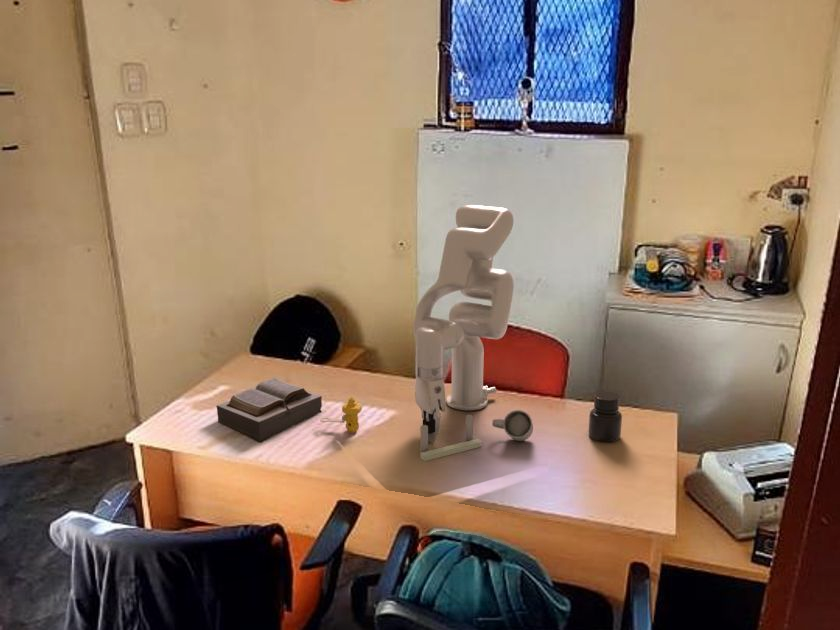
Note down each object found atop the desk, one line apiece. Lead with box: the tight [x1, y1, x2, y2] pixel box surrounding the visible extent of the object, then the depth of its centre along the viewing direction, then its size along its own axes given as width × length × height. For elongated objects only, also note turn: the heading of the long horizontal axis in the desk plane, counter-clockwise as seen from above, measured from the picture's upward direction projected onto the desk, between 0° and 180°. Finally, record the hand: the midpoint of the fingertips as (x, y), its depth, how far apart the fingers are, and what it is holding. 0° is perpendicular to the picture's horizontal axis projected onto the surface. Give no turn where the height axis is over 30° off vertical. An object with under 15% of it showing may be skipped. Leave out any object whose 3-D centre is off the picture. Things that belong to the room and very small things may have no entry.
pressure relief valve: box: [319, 397, 363, 434], centre depth 222 cm, size 6×12×10 cm, turn 78°
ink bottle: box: [587, 390, 623, 442], centre depth 219 cm, size 10×9×12 cm
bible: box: [216, 377, 323, 444], centre depth 229 cm, size 23×27×10 cm
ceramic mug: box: [491, 409, 534, 442], centre depth 215 cm, size 11×8×8 cm
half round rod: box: [428, 412, 442, 445], centre depth 224 cm, size 4×20×2 cm, turn 170°
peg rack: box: [419, 414, 483, 462], centre depth 210 cm, size 18×4×8 cm, turn 119°
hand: (428, 432), depth 220 cm, fingers closed
